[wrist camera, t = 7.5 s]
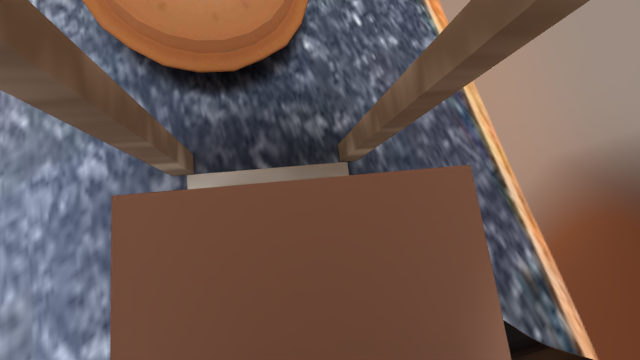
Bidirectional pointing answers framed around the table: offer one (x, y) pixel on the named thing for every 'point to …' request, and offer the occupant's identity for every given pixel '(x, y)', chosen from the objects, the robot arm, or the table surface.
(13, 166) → the table surface
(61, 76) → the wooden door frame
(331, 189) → the block
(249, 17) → the pie
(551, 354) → the robot arm
